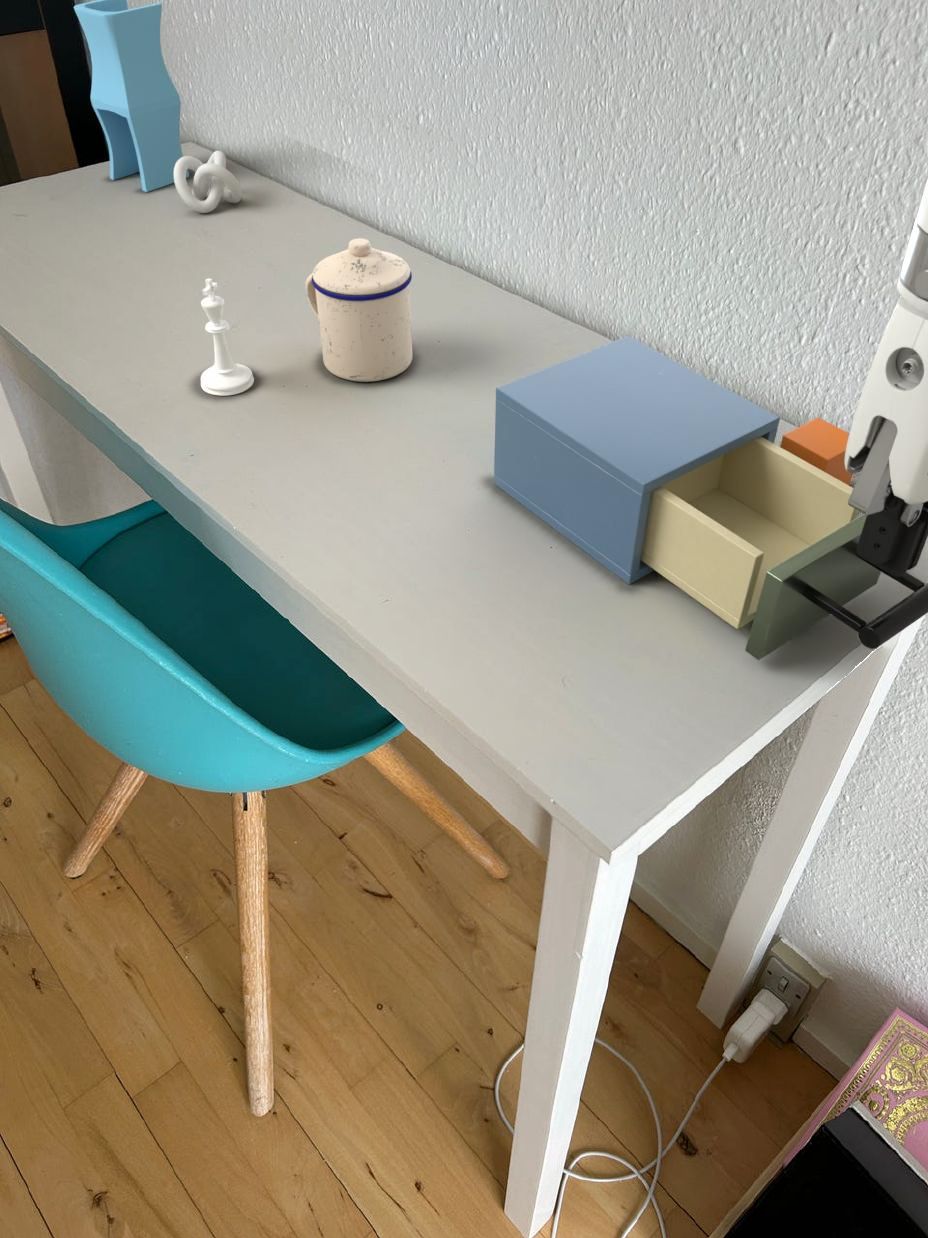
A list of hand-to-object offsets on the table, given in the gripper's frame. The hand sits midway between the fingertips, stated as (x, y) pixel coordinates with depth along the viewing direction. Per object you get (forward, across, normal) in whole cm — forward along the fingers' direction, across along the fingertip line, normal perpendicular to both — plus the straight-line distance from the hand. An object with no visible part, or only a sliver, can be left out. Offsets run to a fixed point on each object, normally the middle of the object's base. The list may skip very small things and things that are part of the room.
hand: (885, 560), depth 60 cm
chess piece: (+7, -17, +58) cm, 61 cm away
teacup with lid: (+7, -4, +55) cm, 55 cm away
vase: (+5, 0, +113) cm, 113 cm away
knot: (+6, +3, +99) cm, 99 cm away
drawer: (+7, 0, +7) cm, 10 cm away
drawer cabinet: (+8, 0, +22) cm, 23 cm away
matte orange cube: (+8, +14, +14) cm, 21 cm away
